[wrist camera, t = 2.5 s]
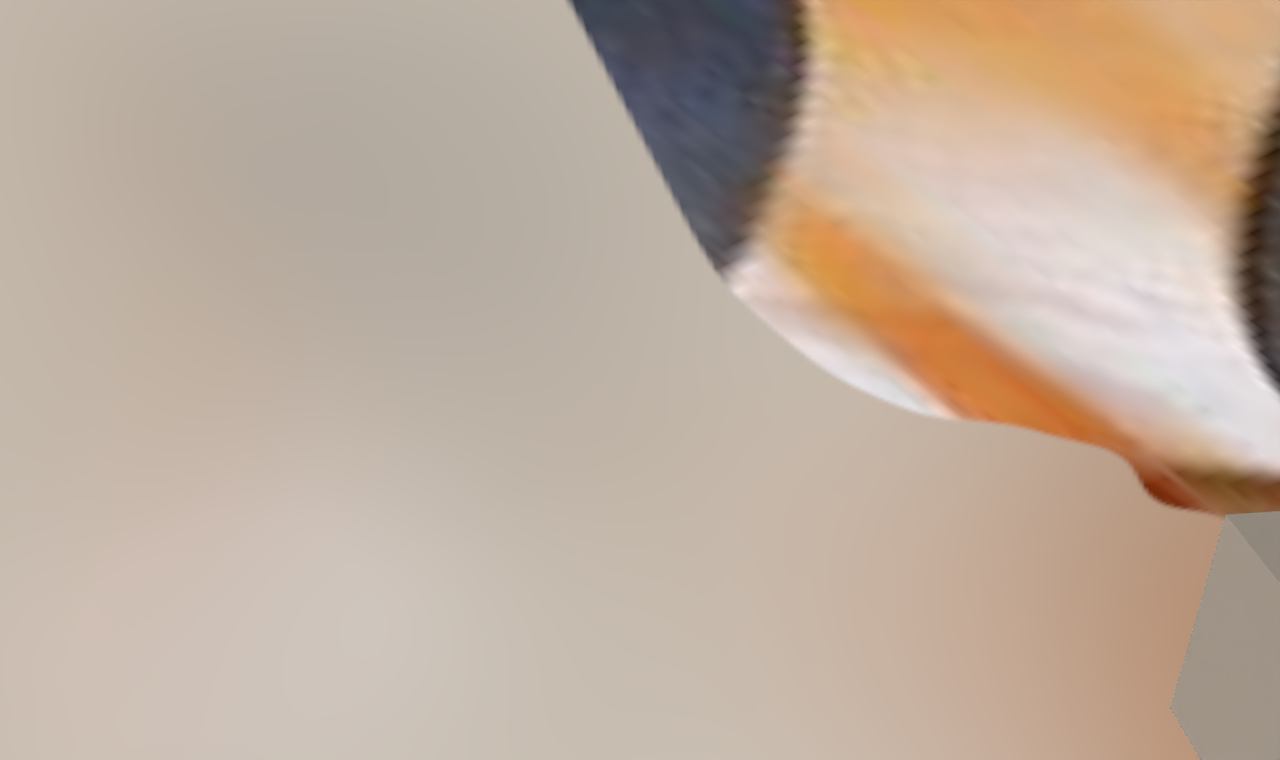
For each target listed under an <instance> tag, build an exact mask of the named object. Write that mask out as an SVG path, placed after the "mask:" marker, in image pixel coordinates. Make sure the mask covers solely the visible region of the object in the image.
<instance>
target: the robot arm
mask: <svg viewBox="0 0 1280 760" xmlns="http://www.w3.org/2000/svg"><path fill="white" fill-rule="evenodd" d="M1170 709H1171V710H1172V712H1173V714H1174V716H1175V717H1176V719H1177V721H1178V722H1179V724H1180V726H1181V728H1182V729H1183V731H1184V733H1185V734H1186V736H1187V738H1188V739H1189V741H1190V743H1191V745H1192V746H1193V748H1194V750H1195V751H1196V753H1197V755H1198V756H1199V758H1200V760H1280V511H1276V512H1261V513H1246V514H1230V515H1226V516H1225V520H1224V523H1223V527H1222V530H1221V533H1220V537H1219V540H1218V544H1217V548H1216V551H1215V554H1214V558H1213V561H1212V565H1211V568H1210V572H1209V575H1208V579H1207V582H1206V586H1205V589H1204V593H1203V596H1202V599H1201V603H1200V606H1199V610H1198V613H1197V617H1196V621H1195V624H1194V627H1193V631H1192V634H1191V638H1190V642H1189V645H1188V648H1187V652H1186V655H1185V659H1184V662H1183V665H1182V669H1181V672H1180V676H1179V679H1178V683H1177V686H1176V690H1175V693H1174V697H1173V700H1172V704H1171V707H1170Z"/></svg>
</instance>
